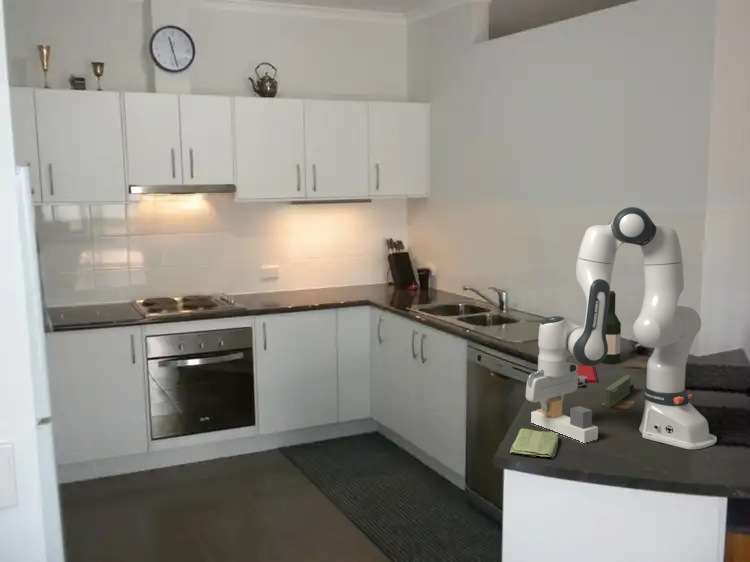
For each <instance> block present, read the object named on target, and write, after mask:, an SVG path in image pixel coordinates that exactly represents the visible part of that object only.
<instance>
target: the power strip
mask: <svg viewBox="0 0 750 562" xmlns="http://www.w3.org/2000/svg"><path fill="white" fill-rule="evenodd" d="M541 409H542V407H541V408H538V409H536V410H533V411H530V412H531V413H530V414H531V415H530V416H531V418H530V424H531V423H534V424H536V425H539V426H542V427H544V428H547V429H550V430H553V431H555V432H558V433H560V434H563V435H566V436H568V437H571V438H573V439H576V440H579V441H580V442H579V443H581V442H583V443H585V444H587V443H586V442H588V443H591V442H594V441H597V439H598V437H599V427H598V426H597V425H594V424H592V426H590V427H587V428H584V429H582V428H579V427H577V426H574V425H571V424H570V416H568V415H565V414H562V416H558V417H555V418H552V417H549V416H546V415H543V414H541ZM536 425H535V426H536ZM544 428H543V429H544ZM573 439H572V440H573ZM593 440H594V441H593ZM590 441H591V442H590ZM583 443H582V444H583Z"/></svg>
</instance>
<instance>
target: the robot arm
mask: <svg viewBox="0 0 750 562" xmlns="http://www.w3.org/2000/svg"><path fill="white" fill-rule="evenodd" d="M677 233H678V232H677V231H676V230H675V229H673V228H671V227H669V226H665V225H662V226H661V225H660V226H657V225H656V224H655V223H654V221H653V220H652V219H651V218H650V216H649V214H648V213H647V212H646V211H644V210H643V209H642V208H640V207H637V206H627V207H626V206H625V207H624V208H622V209H619V210H618V212H616V214H615V215H614V217H613V218H612V220H611V221H610V222H609V223H608V224H605V225H604V224H596V225H595V224H594V225H592V226H590V227H588V228H587V229H586V230H585V233H584V235H583V237H582V239H581V243H580V246H579V249H578V254H577V259H576V262H575V263H576V265H575V279H576V281H577V284H578V285H579V286H580V288H581V290H582V292H583V294H584V296H585V300H586V308H585V309H586V311H585V317H584V324H583V325H579V324H576V323H573V322H572V321H569V320H567V318H565V317H563V316H559V315H558V316H557V315H556V316H549V317H546V318H544V319H542V321H541V322H540V324H539V327H538V328H539V329H538V336H537V337H538V338H537V339H538V340H537V345H538V349H539V350H538V352H539V353H538V357H537V371H533V372H531V373H530V375H529V376H527V381H526V388H525V399H526V400H527V401H528V402H531V403H538V402H539V404H540V406H541V408H542V411H543V412H549V406H547V404H546V402H547V399H549V398H553V397H554V398H557V399H560V400H562V402H563V401H564V398H565V395H567V394H571V393H575V392H576V391H577V390H578V387H579V386H578V373H577V372H576V371H577V370H578V365H579V364H577V363H574V362H571V361H567V360H568V357H571V356H572V357H574V358H575V359H576V360H577V361H578V362H579V363H580V365H585V366H594V367H595V366H598V365H599V364H601V362H602V361H603V360H604V359H605V357H606V356H607V353H608V344H607V340H606V324H607V316H608V307H609V297H610V291H611V281H612V276H613V271H614V270H613V269H614V264H615V260H616V255H617V251H618V249H619V247H620V246H621V245H623V244H630V245H631V244H632V245H637V246H639V247H640V248H641V252H642V260H643V275H644V277H643V278H644V293H643V301H642V305H641V308H640V312H639V314H638V317H637V318H636V319H635V321H634V322H633V326H632V335H633V337H634V339H635V341H636V342H637V343H638V344H639V345H640V346H643V347H645V348H652V349H654V350H653V351H652V354H651V355H650V357H649V358H648V360H647V362H646V379H645V380H646V383H645V384H646V385H645V386H644V392H643V393H644V396H643V397H644V410H643V414H642V419H641V423H640V426H639V428H638V429H639V433H641V434H642V435H641V437H642V438H643V439H647V440H650V441H653V442H654V441H655V442H657V443H658V442H659V443H663V444H666V445H669V446H670V445H671V446H673V447H677V448H681V449H685V450H686V449H687V450H700V449H705V448H708V447H710V446H713V445H715V444H716V443H717V442H718V439H717V436H716V435H714V434H711V433H710V430H709V429H710V428H709V423H708V420H707V418H706V417H704V415H702V414H701V413H700V412H699V410H697V408H695V407H694V406H693V405H692V403H691V402H690V399H691V398H693V393H690V394H688V392H687V389H686V388H685V387H686V386H685V385H686V383H685V382H686V371H687V370H686V367H687V363H688V357H689V355H690V351H691V348H692V345H693V342H694V340H695V337H697V334H698V333H699V332H700V330H701V327H702V319H701V316H700V315H699V313H698V312H697V310H696V309H694V308H692V307H690V306H686V305H685V306H683V305H678V302H679V299H680V296H681V294H682V292H683V290H684V289H685V288H684V287H685V280H684V279H685V278H684V277H685V276H684V264H683V255H682V254H683V253H682V248H681V243H680V240H679V239H680V238H679V236H678V234H677Z"/></svg>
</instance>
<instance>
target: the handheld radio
mask: <svg viewBox="0 0 750 562" xmlns="http://www.w3.org/2000/svg"><path fill="white" fill-rule="evenodd" d="M634 387H635V386H634V385H633V384H631V375H630V374H626V375H624V376H622V377H621V378H620V379H618V380H617V381H615V382H613V384H610V385H609V386H607V388H605V389H604V398H603V399H604V400H603V401H604V402H603V406H605V408H612V407H613V406H614V404H615V405H616V404H617V403H619V402H620V401H622V400H623V399H624V398H626V397H627V396H628V395H629V394H630V392H631V390H632V389H633V388H634ZM619 400H620V401H619ZM618 401H619V402H618ZM611 406H612V407H611Z"/></svg>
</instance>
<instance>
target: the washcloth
mask: <svg viewBox="0 0 750 562" xmlns="http://www.w3.org/2000/svg"><path fill="white" fill-rule="evenodd" d="M558 445H559V434H558V433H554V432H552V431H544V430H543V431H539V430H533V429H528V428H520V430H519V431H518V434H517V436H516V438H515V440H514V442H513V443H512V445H511V447H510V450H509V454H511V453H518V454H523V455H522V456H524V455H531V456H530V457H536V456H540V458H547V457H552V456H555V457H556V455H557V450H558ZM556 449H557V450H556ZM555 452H556V453H555ZM555 454H556V455H555ZM532 455H533V456H532Z"/></svg>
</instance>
